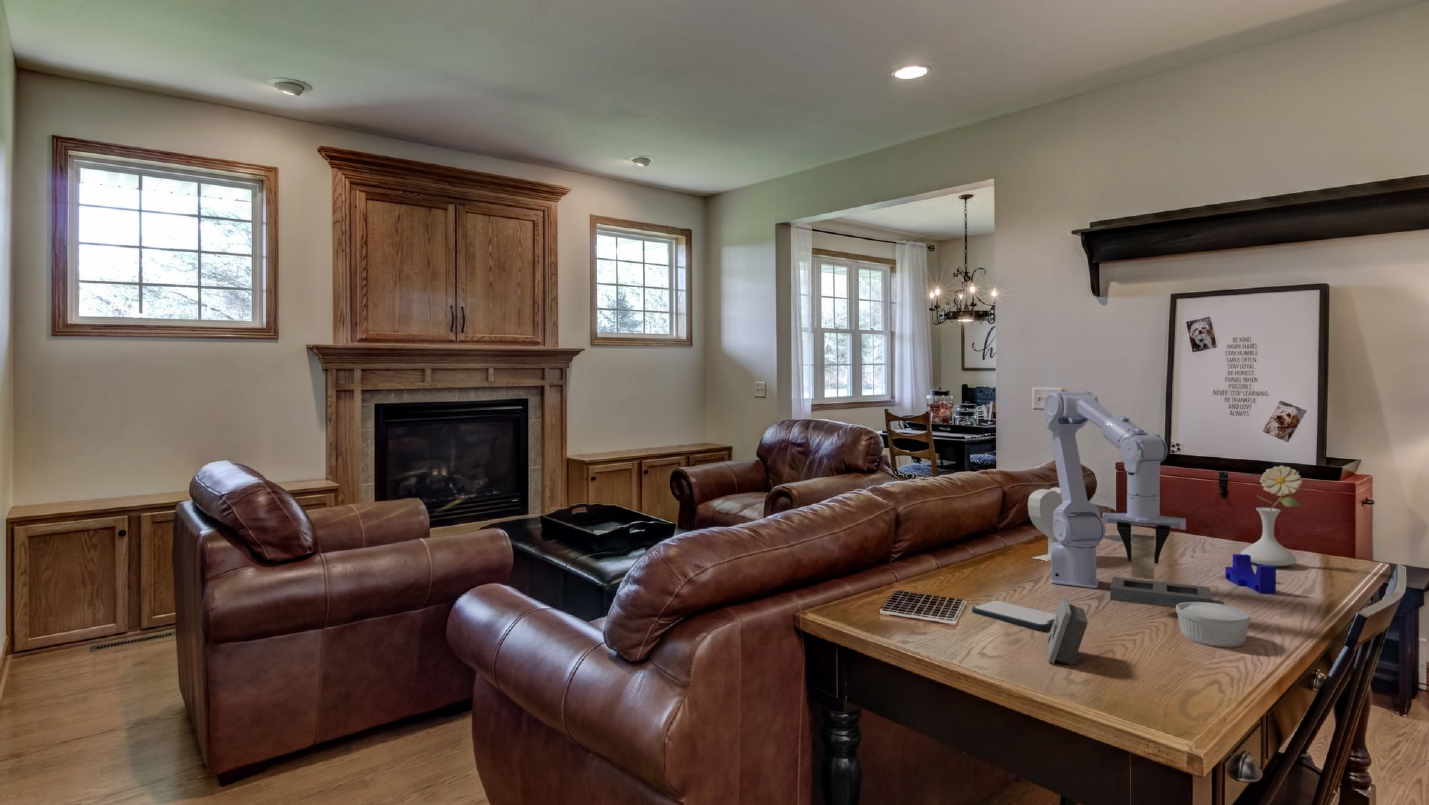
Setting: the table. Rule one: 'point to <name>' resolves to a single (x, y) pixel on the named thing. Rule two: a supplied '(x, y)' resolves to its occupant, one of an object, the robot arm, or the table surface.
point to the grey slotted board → (1157, 592)
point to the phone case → (1016, 615)
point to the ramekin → (1213, 623)
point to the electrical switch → (1066, 633)
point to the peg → (1142, 556)
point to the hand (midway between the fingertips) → (1142, 561)
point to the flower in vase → (1267, 546)
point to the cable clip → (1251, 575)
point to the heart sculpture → (1045, 514)
